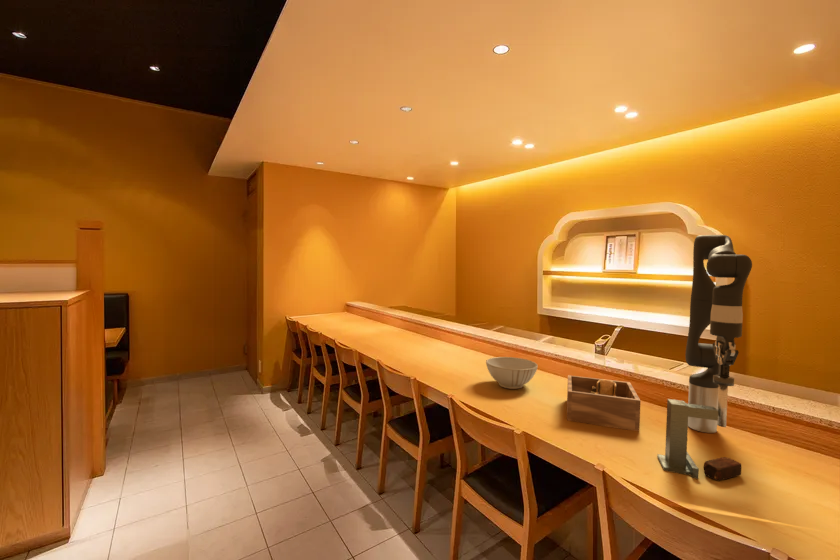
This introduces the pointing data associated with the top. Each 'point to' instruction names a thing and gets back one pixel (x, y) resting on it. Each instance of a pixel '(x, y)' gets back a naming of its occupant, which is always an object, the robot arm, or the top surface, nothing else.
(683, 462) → the press frame
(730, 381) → the ram
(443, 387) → the top surface
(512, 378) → the decorative bowl
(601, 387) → the armchair
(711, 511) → the top surface
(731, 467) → the brick
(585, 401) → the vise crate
